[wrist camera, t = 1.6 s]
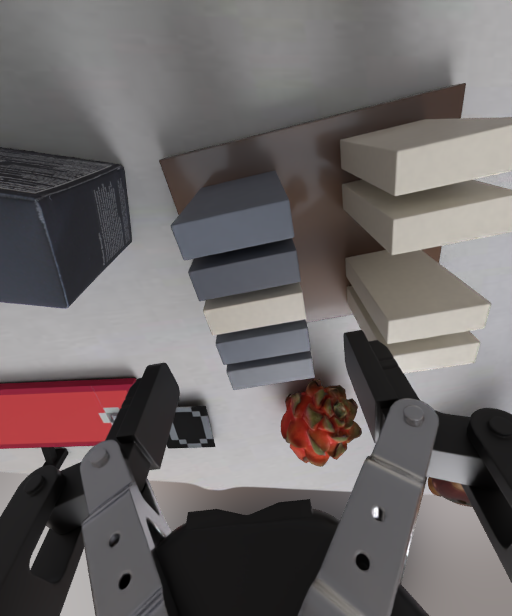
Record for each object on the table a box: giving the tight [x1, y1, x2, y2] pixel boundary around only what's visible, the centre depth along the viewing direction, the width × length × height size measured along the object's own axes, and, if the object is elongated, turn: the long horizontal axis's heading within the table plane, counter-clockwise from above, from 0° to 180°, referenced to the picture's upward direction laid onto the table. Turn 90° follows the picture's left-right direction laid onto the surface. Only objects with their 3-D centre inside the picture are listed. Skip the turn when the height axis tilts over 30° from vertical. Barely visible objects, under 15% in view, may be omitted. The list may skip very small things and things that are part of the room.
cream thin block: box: [203, 282, 306, 335], centre depth 19 cm, size 2×6×9 cm, turn 102°
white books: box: [340, 117, 512, 374], centre depth 18 cm, size 13×6×9 cm, turn 12°
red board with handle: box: [0, 378, 215, 470], centre depth 36 cm, size 30×3×15 cm
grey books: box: [171, 171, 315, 390], centre depth 19 cm, size 11×6×9 cm, turn 12°
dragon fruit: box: [281, 379, 362, 467], centre depth 32 cm, size 8×8×12 cm
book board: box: [159, 83, 466, 323], centre depth 23 cm, size 16×20×2 cm
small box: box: [0, 147, 132, 309], centre depth 18 cm, size 11×6×10 cm, turn 83°
